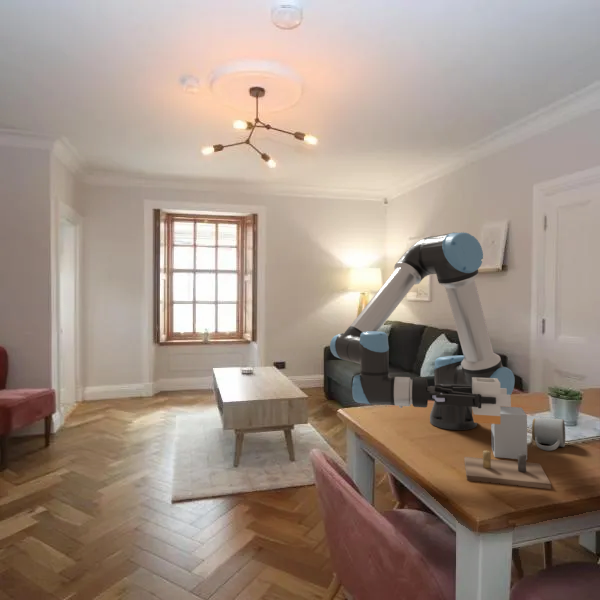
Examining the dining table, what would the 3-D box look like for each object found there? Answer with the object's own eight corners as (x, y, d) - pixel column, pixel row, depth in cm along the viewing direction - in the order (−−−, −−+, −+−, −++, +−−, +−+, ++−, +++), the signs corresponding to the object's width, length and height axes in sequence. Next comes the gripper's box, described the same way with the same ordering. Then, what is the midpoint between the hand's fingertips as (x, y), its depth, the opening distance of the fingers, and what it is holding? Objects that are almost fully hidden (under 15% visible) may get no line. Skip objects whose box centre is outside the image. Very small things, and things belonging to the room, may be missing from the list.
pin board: (464, 461, 117) (464, 441, 117) (539, 468, 112) (539, 448, 112) (467, 480, 106) (466, 458, 106) (550, 489, 100) (550, 466, 100)
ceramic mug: (534, 437, 134) (534, 412, 134) (565, 442, 130) (565, 416, 129) (529, 448, 126) (529, 422, 125) (563, 454, 121) (562, 427, 121)
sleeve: (472, 415, 113) (471, 377, 113) (497, 417, 112) (497, 378, 111) (473, 422, 108) (473, 382, 107) (500, 424, 106) (500, 383, 106)
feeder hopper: (490, 446, 127) (490, 405, 127) (521, 449, 125) (521, 407, 124) (494, 457, 120) (493, 413, 119) (527, 459, 117) (526, 415, 117)
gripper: (414, 397, 124) (503, 402, 117) (409, 416, 106) (514, 423, 99) (413, 371, 124) (503, 374, 117) (409, 385, 106) (514, 390, 99)
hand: (508, 397), depth 108 cm, fingers closed on sleeve, 6 cm apart
